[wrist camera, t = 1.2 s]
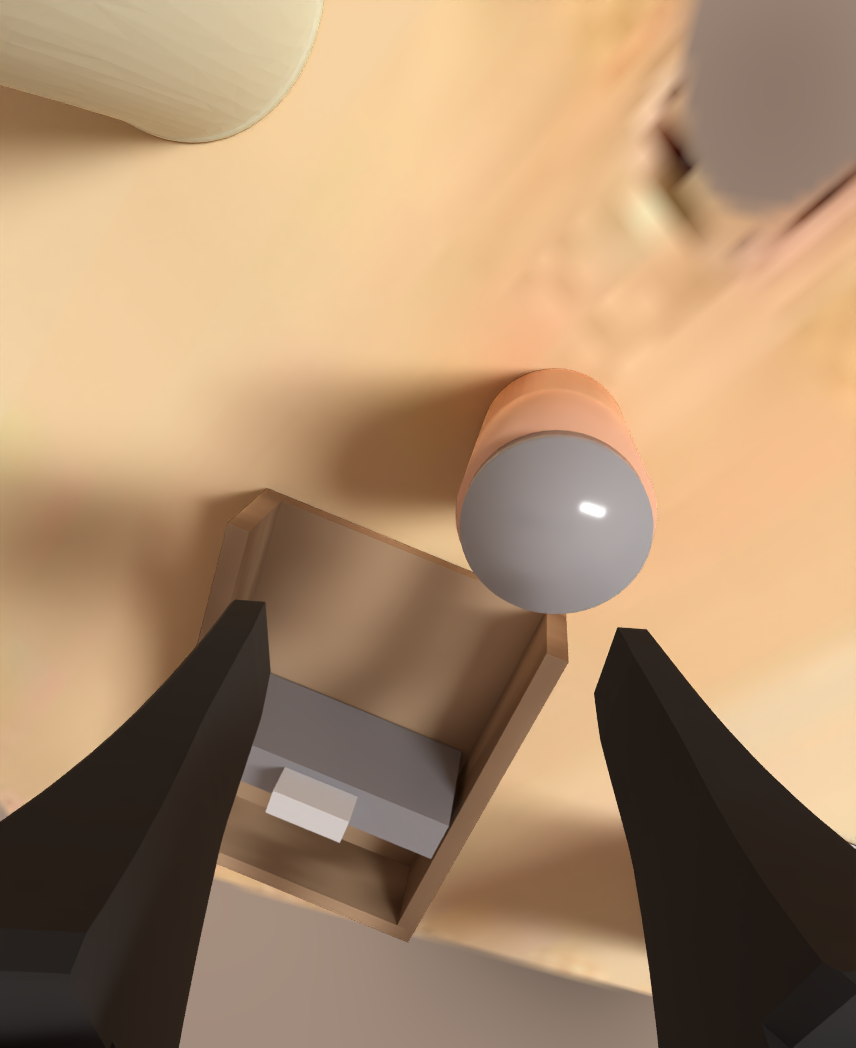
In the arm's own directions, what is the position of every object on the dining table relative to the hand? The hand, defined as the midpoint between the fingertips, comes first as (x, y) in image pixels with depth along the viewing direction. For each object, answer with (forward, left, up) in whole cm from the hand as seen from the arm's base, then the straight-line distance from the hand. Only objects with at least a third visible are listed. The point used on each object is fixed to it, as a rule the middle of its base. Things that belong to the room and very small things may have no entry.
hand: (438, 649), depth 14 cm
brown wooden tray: (+1, +12, -11) cm, 17 cm away
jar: (-2, -2, -11) cm, 12 cm away
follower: (+1, +13, -11) cm, 17 cm away
